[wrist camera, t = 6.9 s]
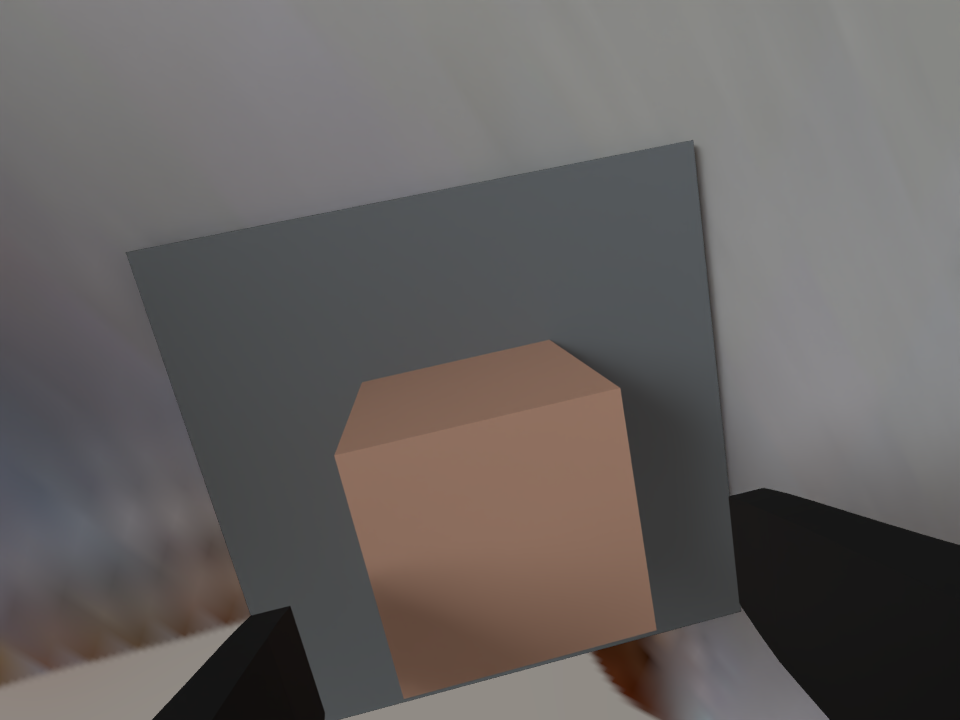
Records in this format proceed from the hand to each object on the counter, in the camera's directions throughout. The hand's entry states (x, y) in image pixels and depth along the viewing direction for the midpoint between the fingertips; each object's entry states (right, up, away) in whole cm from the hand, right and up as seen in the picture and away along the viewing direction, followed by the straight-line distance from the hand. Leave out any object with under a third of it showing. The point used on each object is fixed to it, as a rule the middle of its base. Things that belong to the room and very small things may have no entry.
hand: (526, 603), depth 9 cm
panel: (-1, +1, +6) cm, 7 cm away
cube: (-1, +1, +6) cm, 6 cm away
